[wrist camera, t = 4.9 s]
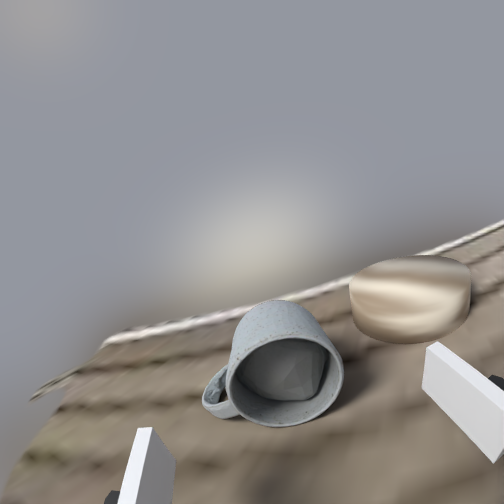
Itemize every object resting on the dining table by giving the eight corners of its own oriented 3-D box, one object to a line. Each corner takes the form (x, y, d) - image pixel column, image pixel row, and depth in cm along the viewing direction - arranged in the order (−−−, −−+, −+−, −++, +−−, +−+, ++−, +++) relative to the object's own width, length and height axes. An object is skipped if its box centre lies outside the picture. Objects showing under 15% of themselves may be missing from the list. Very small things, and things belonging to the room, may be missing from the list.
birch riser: (393, 278, 36) (391, 252, 35) (481, 291, 24) (483, 259, 23) (327, 324, 30) (322, 292, 29) (439, 361, 18) (443, 321, 17)
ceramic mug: (321, 353, 24) (306, 279, 23) (349, 410, 16) (339, 320, 15) (212, 380, 24) (183, 310, 23) (204, 443, 16) (160, 364, 15)
